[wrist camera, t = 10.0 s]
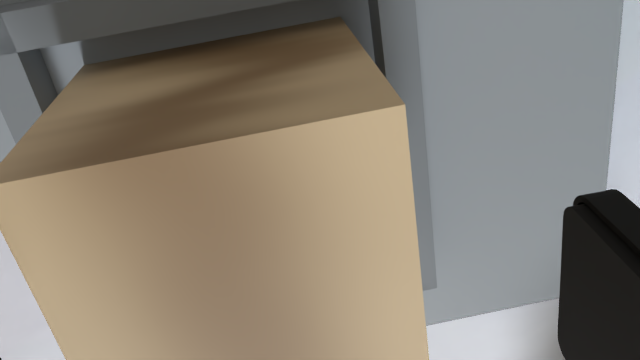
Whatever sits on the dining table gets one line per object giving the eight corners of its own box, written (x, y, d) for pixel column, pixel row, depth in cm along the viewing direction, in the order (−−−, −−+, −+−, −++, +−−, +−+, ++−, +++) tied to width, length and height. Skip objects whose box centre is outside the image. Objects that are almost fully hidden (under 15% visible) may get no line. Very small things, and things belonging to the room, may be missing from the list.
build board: (610, -133, 14) (671, -135, 12) (580, 271, 19) (618, 315, 17) (-72, -9, 13) (-127, 11, 11) (104, 369, 19) (89, 426, 17)
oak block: (340, 16, 13) (405, 104, 8) (370, 229, 16) (432, 397, 11) (83, 65, 13) (-21, 187, 8) (159, 272, 16) (119, 464, 11)
